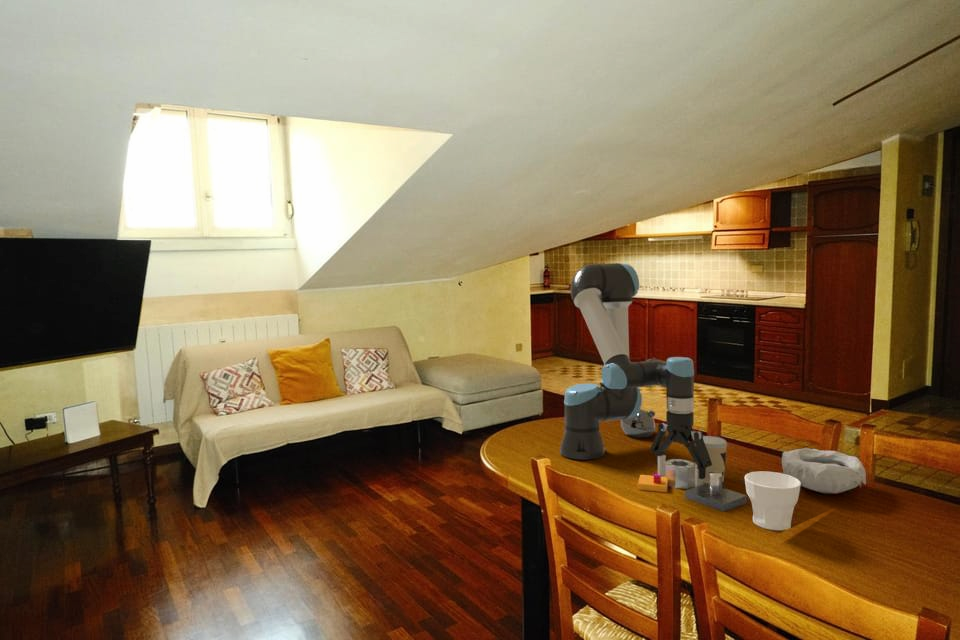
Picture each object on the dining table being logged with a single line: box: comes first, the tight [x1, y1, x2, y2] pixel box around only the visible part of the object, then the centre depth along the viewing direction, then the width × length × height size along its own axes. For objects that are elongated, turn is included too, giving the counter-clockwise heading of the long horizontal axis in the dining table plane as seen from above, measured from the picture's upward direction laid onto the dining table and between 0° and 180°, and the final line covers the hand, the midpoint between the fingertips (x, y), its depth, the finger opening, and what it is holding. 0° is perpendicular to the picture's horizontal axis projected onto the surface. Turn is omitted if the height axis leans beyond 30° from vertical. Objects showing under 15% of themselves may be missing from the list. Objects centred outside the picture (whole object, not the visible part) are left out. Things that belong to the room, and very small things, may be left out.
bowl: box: [781, 447, 867, 495], centre depth 167 cm, size 21×20×10 cm
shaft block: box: [684, 472, 748, 513], centre depth 162 cm, size 12×10×8 cm
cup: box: [743, 470, 802, 531], centre depth 146 cm, size 12×12×11 cm
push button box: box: [637, 473, 669, 493], centre depth 174 cm, size 8×8×4 cm
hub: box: [665, 458, 695, 490], centre depth 175 cm, size 8×8×6 cm
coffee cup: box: [694, 435, 728, 484], centre depth 178 cm, size 9×9×12 cm
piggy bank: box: [620, 408, 656, 439], centre depth 221 cm, size 11×15×12 cm
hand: (679, 482), depth 175 cm, fingers open, 12 cm apart
